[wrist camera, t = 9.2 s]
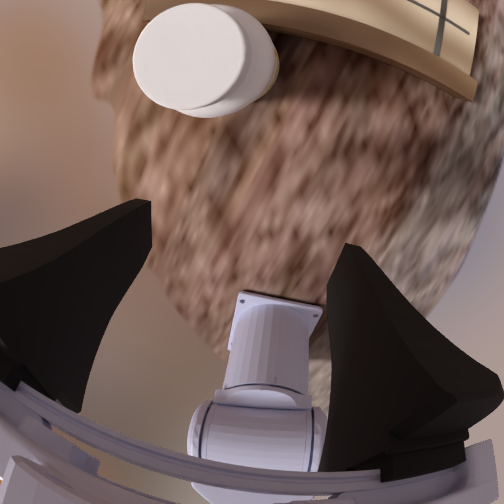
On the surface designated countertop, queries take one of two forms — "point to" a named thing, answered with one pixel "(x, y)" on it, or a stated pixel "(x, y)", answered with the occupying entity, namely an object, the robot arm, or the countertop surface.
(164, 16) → the supplement bottle
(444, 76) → the board
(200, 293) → the countertop surface
